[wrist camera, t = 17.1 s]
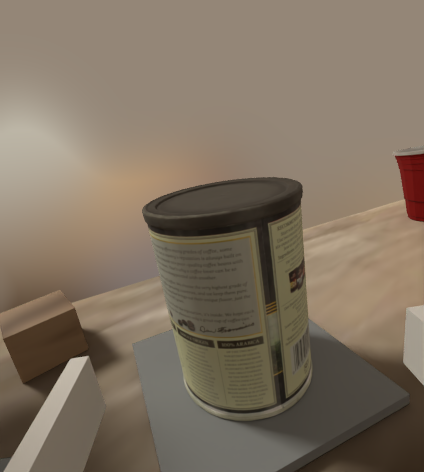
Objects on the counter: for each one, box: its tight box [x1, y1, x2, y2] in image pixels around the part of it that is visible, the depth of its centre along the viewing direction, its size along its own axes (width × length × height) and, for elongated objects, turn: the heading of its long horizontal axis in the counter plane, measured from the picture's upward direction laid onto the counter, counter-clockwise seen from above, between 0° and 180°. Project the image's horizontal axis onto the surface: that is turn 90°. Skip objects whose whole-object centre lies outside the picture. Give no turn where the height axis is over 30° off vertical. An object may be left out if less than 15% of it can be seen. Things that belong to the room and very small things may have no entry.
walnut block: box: [0, 290, 89, 383], centre depth 30 cm, size 6×6×5 cm
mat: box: [132, 318, 410, 472], centre depth 24 cm, size 16×16×1 cm
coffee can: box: [142, 177, 313, 421], centre depth 22 cm, size 10×10×14 cm
